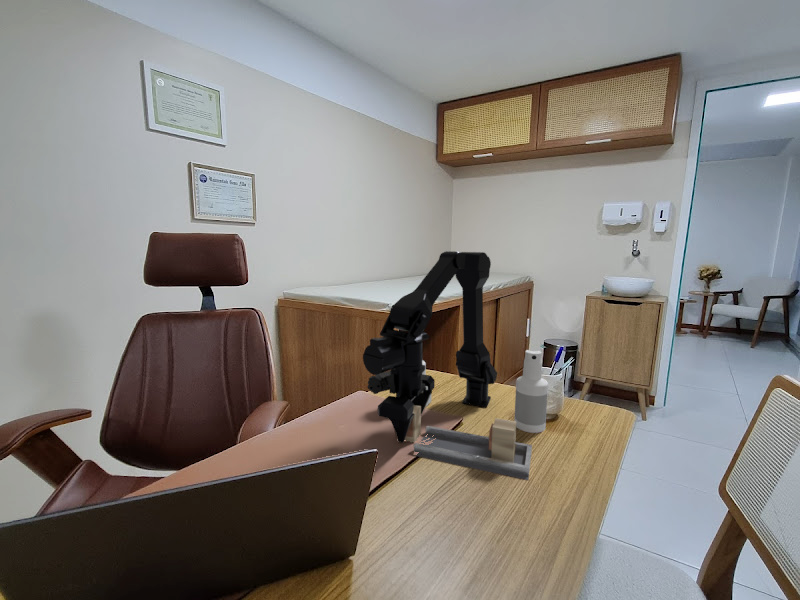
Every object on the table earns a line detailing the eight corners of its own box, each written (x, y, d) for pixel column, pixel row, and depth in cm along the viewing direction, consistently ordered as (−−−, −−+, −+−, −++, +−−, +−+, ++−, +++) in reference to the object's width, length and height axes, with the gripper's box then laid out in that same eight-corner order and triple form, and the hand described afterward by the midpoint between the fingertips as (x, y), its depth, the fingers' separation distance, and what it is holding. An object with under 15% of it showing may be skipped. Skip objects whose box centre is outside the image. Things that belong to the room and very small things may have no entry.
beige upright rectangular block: (491, 450, 77) (492, 417, 76) (514, 454, 75) (516, 421, 74) (488, 460, 73) (489, 426, 72) (512, 465, 72) (514, 430, 71)
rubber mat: (428, 431, 86) (428, 429, 86) (531, 451, 77) (531, 449, 77) (411, 457, 76) (411, 454, 75) (528, 482, 67) (528, 480, 67)
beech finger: (403, 432, 85) (403, 403, 84) (420, 436, 84) (420, 406, 83) (395, 442, 81) (395, 411, 80) (413, 446, 79) (413, 415, 78)
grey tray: (426, 432, 84) (426, 425, 84) (531, 451, 76) (531, 445, 76) (413, 451, 77) (413, 444, 76) (528, 476, 68) (529, 468, 68)
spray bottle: (515, 432, 85) (518, 355, 82) (513, 419, 92) (516, 346, 89) (547, 436, 83) (552, 357, 81) (543, 422, 90) (547, 348, 87)
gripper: (390, 347, 91) (391, 408, 94) (353, 371, 74) (354, 446, 76) (435, 352, 87) (434, 416, 90) (406, 379, 70) (406, 457, 72)
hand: (408, 432), depth 82 cm, fingers open, 8 cm apart
